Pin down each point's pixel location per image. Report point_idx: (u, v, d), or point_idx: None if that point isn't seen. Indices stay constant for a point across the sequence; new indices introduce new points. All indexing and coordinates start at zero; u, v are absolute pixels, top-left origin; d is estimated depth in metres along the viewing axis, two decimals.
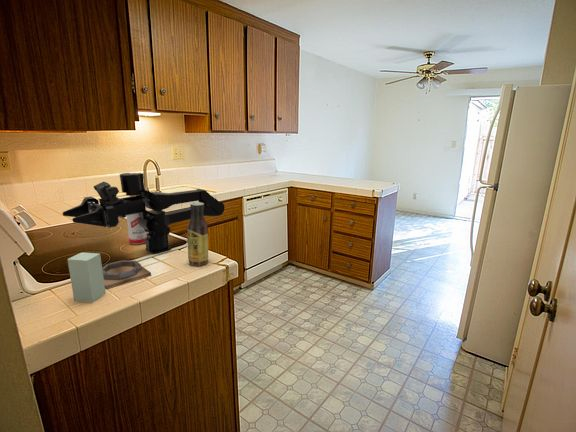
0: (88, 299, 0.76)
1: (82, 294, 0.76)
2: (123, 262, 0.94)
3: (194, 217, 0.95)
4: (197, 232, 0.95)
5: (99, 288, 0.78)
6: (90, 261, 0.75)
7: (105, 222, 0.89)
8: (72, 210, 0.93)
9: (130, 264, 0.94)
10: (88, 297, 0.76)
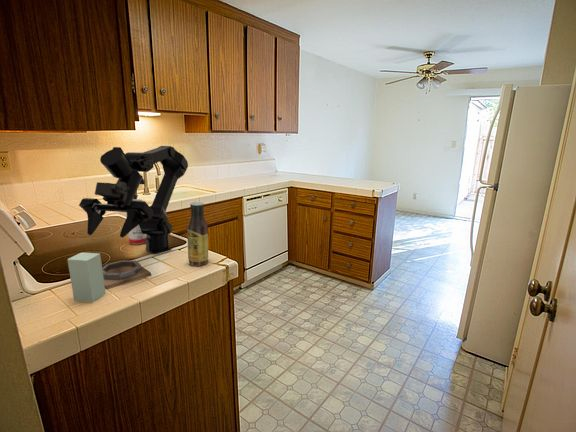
0: (88, 299, 0.76)
1: (82, 294, 0.76)
2: (123, 262, 0.94)
3: (194, 217, 0.95)
4: (197, 232, 0.95)
5: (99, 288, 0.78)
6: (90, 261, 0.75)
7: (144, 218, 0.87)
8: (91, 225, 0.84)
9: (130, 264, 0.94)
10: (88, 297, 0.76)
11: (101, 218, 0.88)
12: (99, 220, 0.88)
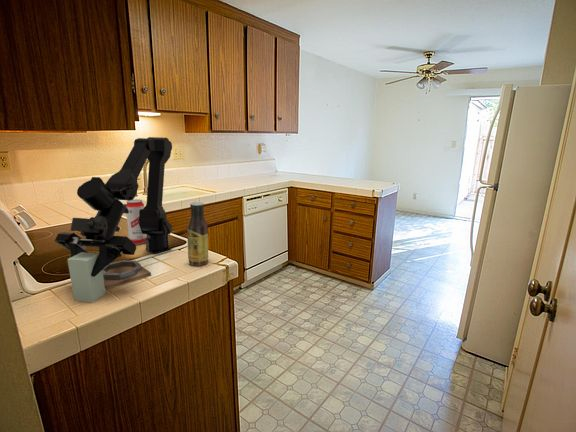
0: (88, 299, 0.76)
1: (82, 294, 0.76)
2: (123, 262, 0.94)
3: (194, 217, 0.95)
4: (197, 232, 0.95)
5: (98, 288, 0.78)
6: (90, 261, 0.74)
7: (119, 253, 0.80)
8: None
9: (130, 264, 0.94)
10: (88, 297, 0.76)
11: None
12: None
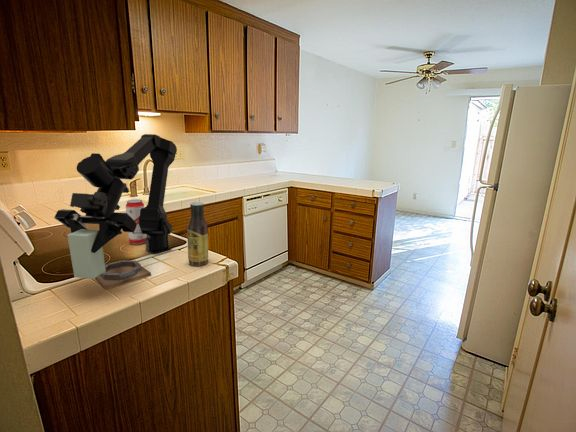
0: (88, 275, 0.76)
1: (83, 270, 0.76)
2: (123, 262, 0.94)
3: (194, 217, 0.95)
4: (197, 232, 0.95)
5: (99, 265, 0.78)
6: (90, 236, 0.74)
7: (119, 230, 0.79)
8: None
9: (130, 264, 0.94)
10: (88, 273, 0.76)
11: None
12: None
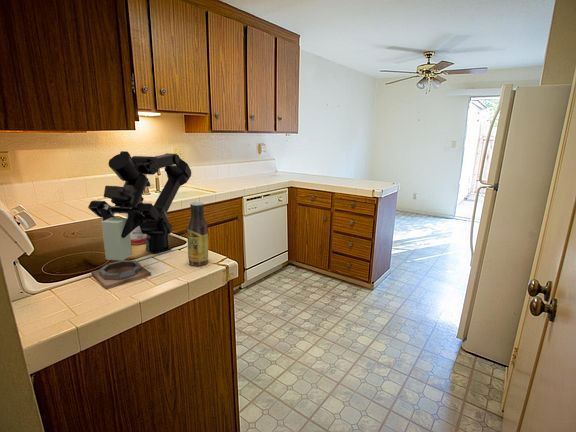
0: (118, 258, 0.87)
1: (113, 253, 0.87)
2: (123, 262, 0.94)
3: (194, 217, 0.95)
4: (197, 232, 0.95)
5: (127, 249, 0.89)
6: (120, 223, 0.85)
7: (144, 219, 0.90)
8: None
9: (130, 264, 0.94)
10: (118, 256, 0.87)
11: None
12: None
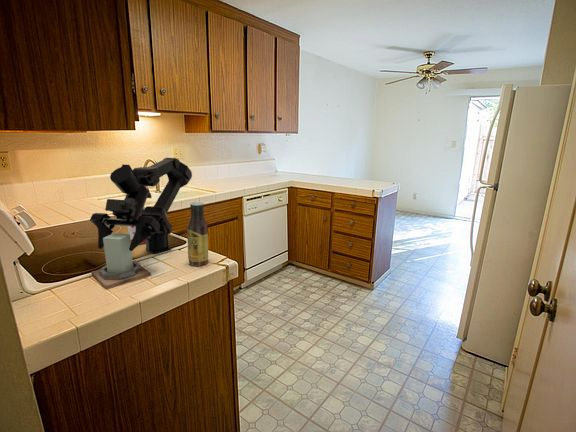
0: None
1: (115, 269, 0.88)
2: None
3: (194, 217, 0.95)
4: (197, 232, 0.95)
5: (128, 264, 0.90)
6: (122, 240, 0.86)
7: (152, 231, 0.91)
8: (102, 239, 0.89)
9: None
10: (120, 271, 0.88)
11: (110, 232, 0.93)
12: (109, 234, 0.92)
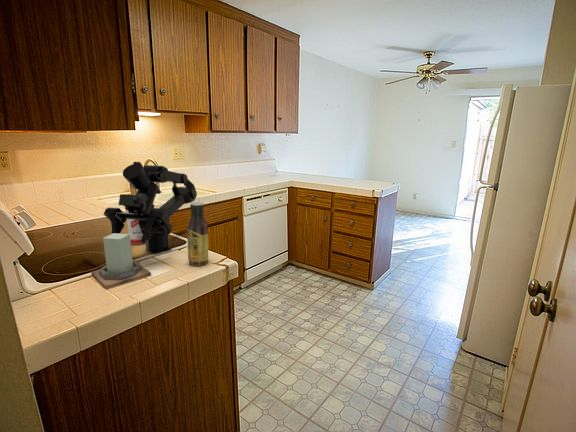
0: None
1: (115, 269, 0.88)
2: None
3: (194, 217, 0.95)
4: (197, 232, 0.95)
5: (128, 264, 0.90)
6: (122, 240, 0.86)
7: (162, 225, 0.97)
8: (115, 232, 0.94)
9: None
10: (120, 271, 0.88)
11: (122, 225, 0.98)
12: (121, 227, 0.97)
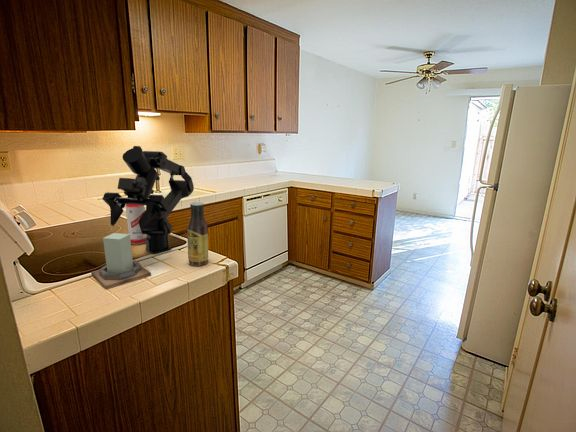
0: None
1: (115, 269, 0.88)
2: None
3: (194, 217, 0.95)
4: (197, 232, 0.95)
5: (128, 264, 0.90)
6: (122, 240, 0.86)
7: (161, 210, 0.96)
8: (114, 216, 0.93)
9: None
10: (120, 271, 0.88)
11: (122, 211, 0.97)
12: (120, 212, 0.96)
